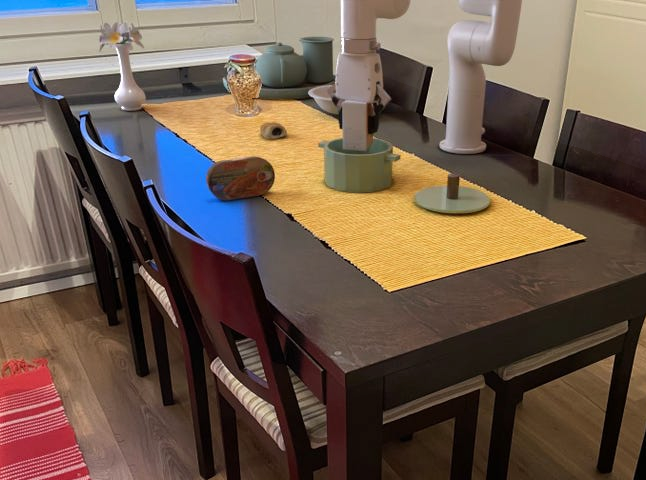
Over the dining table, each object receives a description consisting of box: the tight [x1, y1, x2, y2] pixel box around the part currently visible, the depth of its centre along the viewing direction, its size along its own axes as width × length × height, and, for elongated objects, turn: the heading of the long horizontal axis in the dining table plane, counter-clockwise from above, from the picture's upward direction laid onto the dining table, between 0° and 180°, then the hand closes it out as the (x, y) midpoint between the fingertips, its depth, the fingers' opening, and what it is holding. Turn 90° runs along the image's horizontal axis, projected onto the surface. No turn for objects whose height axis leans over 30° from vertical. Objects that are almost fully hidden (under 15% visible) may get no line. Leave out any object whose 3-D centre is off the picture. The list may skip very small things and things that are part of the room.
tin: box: [205, 155, 276, 202], centre depth 162 cm, size 15×3×8 cm, turn 117°
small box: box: [342, 100, 374, 151], centre depth 167 cm, size 8×6×10 cm
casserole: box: [317, 137, 402, 193], centre depth 172 cm, size 16×21×8 cm
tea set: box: [222, 36, 336, 101], centre depth 258 cm, size 40×40×16 cm
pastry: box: [259, 121, 287, 141], centre depth 208 cm, size 9×7×4 cm
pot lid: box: [413, 173, 491, 214], centre depth 161 cm, size 17×17×6 cm
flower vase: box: [97, 21, 147, 112], centre depth 227 cm, size 13×18×25 cm
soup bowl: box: [308, 85, 381, 116], centre depth 230 cm, size 24×24×7 cm
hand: (358, 129), depth 168 cm, fingers closed on small box, 7 cm apart
